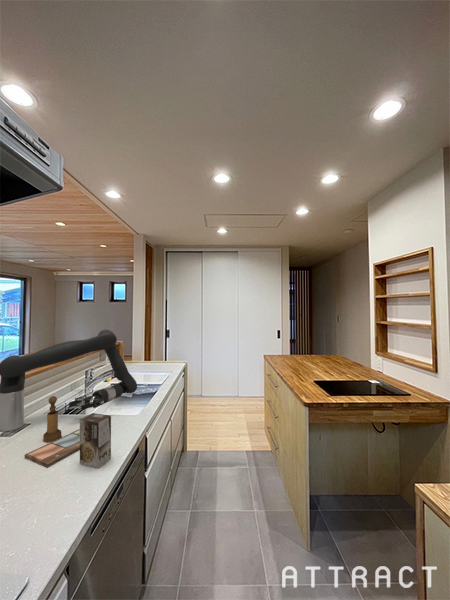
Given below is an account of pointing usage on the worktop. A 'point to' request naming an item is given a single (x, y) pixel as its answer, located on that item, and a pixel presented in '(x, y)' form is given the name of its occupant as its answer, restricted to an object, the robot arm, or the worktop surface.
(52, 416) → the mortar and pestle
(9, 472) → the worktop surface
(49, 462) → the tile board
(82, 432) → the coffee box
